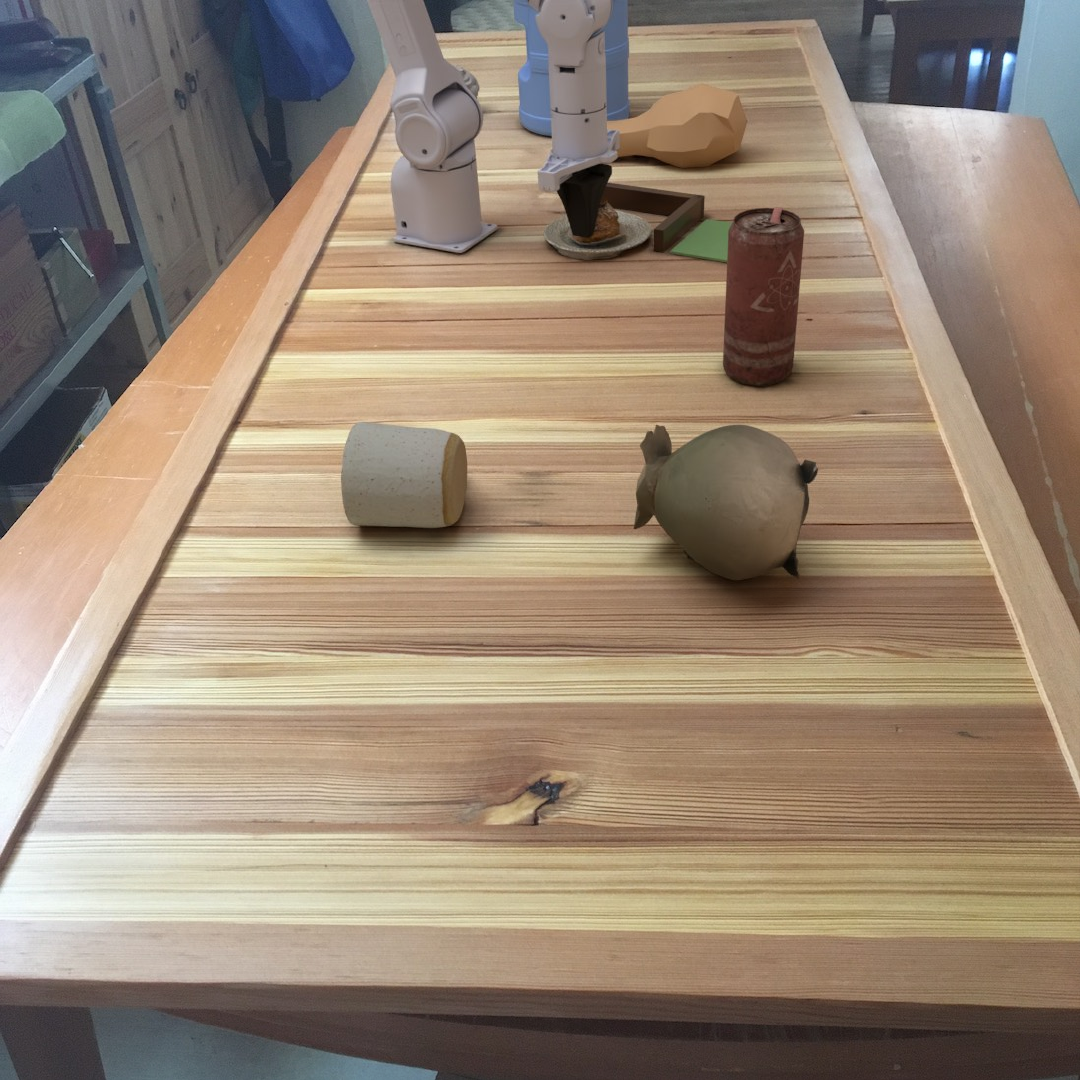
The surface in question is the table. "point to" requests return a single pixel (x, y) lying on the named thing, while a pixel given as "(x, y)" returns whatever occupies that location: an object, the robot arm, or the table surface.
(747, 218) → the can
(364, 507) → the ceramic mug
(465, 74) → the frog figurine
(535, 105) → the water jug
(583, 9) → the robot arm
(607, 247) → the pastry
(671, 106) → the squash
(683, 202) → the corner guide
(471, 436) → the table surface
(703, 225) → the green rag
